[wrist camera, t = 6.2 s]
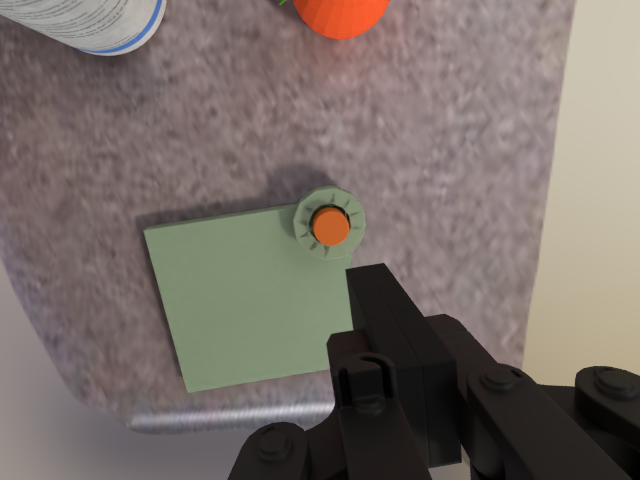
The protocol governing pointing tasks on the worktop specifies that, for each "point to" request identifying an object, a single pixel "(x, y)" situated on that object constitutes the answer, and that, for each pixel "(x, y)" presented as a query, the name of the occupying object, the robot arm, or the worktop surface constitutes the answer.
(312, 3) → the clementine
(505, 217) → the worktop surface
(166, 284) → the scale
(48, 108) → the worktop surface
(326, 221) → the tare button
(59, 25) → the supplement tub
